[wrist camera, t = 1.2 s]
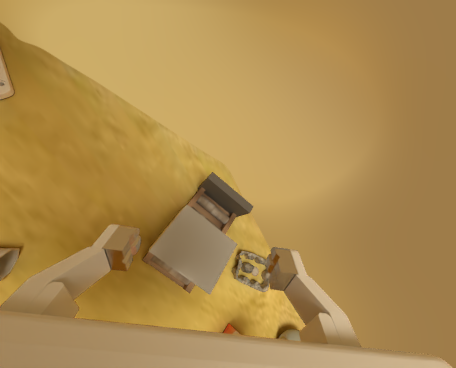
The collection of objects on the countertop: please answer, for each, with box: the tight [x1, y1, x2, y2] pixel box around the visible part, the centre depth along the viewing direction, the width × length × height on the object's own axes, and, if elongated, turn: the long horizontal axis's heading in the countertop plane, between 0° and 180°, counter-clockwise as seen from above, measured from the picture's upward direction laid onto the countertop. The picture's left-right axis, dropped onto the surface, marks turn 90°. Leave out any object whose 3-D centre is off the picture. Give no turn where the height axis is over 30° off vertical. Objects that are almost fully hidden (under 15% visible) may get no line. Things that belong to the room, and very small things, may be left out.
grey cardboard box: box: [148, 205, 237, 294], centre depth 35 cm, size 10×13×8 cm
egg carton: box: [232, 251, 270, 292], centre depth 45 cm, size 11×8×4 cm
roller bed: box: [142, 172, 253, 293], centre depth 39 cm, size 22×13×9 cm, turn 146°
